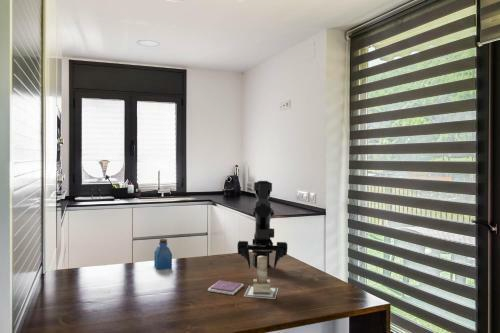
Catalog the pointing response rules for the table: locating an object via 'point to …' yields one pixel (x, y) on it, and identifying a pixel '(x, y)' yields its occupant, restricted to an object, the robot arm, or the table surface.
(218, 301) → the table surface
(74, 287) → the table surface
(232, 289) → the ink pad
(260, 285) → the stamp
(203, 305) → the table surface
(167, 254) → the perfume bottle
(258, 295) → the marked card
